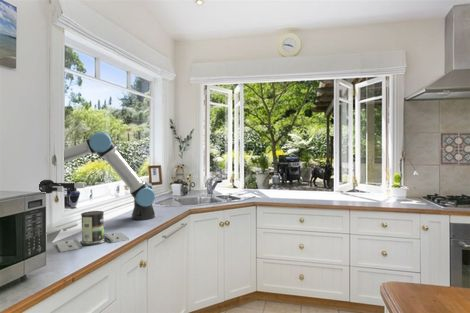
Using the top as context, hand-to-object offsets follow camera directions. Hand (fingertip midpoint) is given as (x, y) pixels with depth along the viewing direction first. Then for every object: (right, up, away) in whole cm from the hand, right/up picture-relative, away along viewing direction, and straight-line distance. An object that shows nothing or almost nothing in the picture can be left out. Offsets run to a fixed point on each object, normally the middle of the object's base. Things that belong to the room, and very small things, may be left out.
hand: (73, 187), depth 166 cm
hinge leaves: (+14, -27, -8) cm, 31 cm away
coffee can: (+14, -26, -8) cm, 31 cm away
